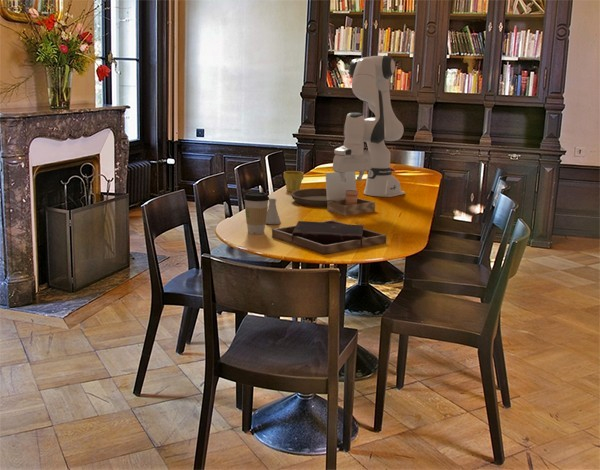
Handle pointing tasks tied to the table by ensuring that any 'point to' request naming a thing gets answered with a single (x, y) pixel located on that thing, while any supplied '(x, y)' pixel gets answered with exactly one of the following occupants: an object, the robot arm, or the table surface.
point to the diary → (328, 232)
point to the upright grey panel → (339, 184)
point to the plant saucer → (312, 197)
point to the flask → (272, 213)
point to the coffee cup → (256, 211)
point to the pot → (351, 197)
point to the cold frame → (350, 207)
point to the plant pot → (293, 180)
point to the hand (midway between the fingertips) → (351, 181)
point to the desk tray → (367, 240)
